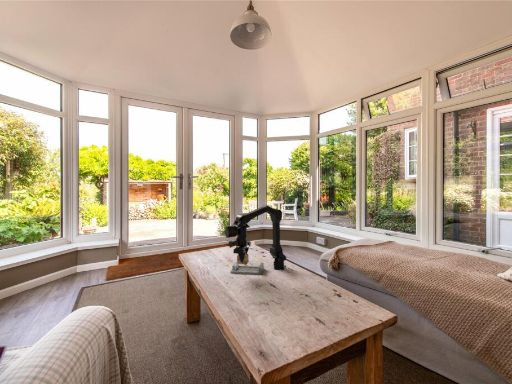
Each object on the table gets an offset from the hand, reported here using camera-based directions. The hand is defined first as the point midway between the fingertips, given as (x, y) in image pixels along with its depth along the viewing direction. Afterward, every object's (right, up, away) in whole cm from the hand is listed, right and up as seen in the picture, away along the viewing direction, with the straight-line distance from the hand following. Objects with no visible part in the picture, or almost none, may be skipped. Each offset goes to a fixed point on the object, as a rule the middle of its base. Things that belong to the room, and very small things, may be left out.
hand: (242, 260), depth 147 cm
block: (0, -1, 0) cm, 1 cm away
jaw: (-5, -8, +12) cm, 15 cm away
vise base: (+2, -10, +10) cm, 14 cm away
